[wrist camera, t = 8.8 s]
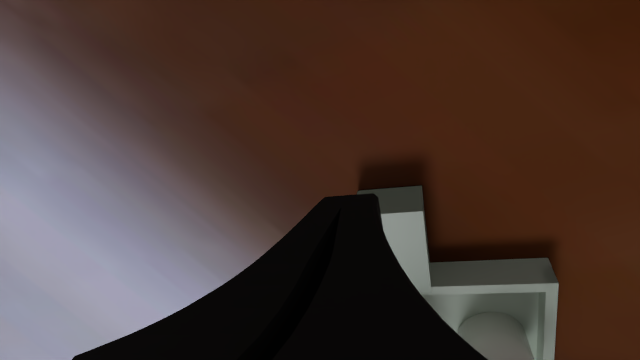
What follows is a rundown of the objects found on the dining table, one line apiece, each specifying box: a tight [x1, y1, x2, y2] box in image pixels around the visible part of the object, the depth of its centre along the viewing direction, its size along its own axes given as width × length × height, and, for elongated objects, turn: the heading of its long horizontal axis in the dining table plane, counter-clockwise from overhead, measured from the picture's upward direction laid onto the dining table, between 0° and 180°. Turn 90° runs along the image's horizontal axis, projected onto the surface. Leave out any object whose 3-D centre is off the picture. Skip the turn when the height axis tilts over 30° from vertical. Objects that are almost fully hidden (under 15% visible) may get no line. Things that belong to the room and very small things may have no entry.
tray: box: [357, 186, 559, 360], centre depth 21 cm, size 14×14×7 cm
